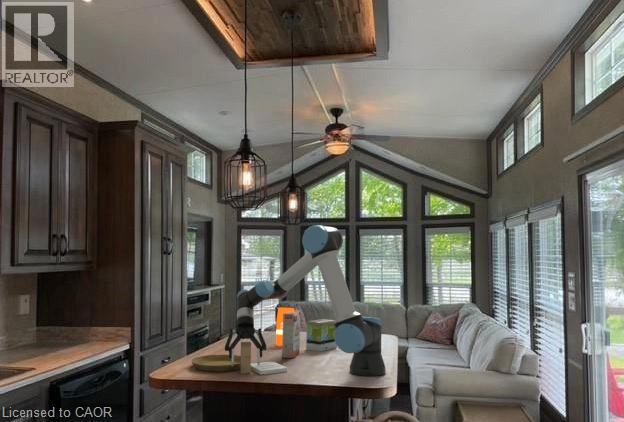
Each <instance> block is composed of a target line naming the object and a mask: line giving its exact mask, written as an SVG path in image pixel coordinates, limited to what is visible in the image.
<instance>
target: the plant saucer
mask: <svg viewBox="0 0 624 422" xmlns="http://www.w3.org/2000/svg"><path fill="white" fill-rule="evenodd" d="M240 361H241V355H237V354H236V355H235V354H234V365H233V366H232V358H229V354H209V355H201V356H197V357H194V358H192V359H191V363H192V365H193V367H195V368H197V370H200V371H205V372H213V373H214V372H217V373H218V372H219V373H220V372H229V371H231V372H232V371H234V370H238V369H239V370H240Z"/></svg>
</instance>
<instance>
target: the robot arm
mask: <svg viewBox="0 0 624 422" xmlns="http://www.w3.org/2000/svg"><path fill="white" fill-rule="evenodd" d="M301 240H302V241H301V243H302V246H303V248H304V250H305V251H306V253H305V254H304V255H303V256H302V257H301V258H300V259H298V260H297V261H296V262H295V263H294V264H293V265H292V266H290V267H289V268H288V269H287V270H286V271H285V272H283V274H282V275H280V276H279V277H278V278H276V280H274V282H271V281H269V280H267V279H263V280H261V281H260V282H258V283H257V284H255V285H254V286H253V287H252V288H250V289H248V288H247V289H246V288H245V289H242V290H239V291H238V293H237V295H236V296H237V297H236V328H235V329H233V328H229V335H228V337H227V340H226V342H225V345H224V351H225V352H228V355H229V358H232V366H233V365H234V355H235V354H234V353H235V351H234V350H235V348H236V346H237V345H238V343H239V342H241V340H249V341H250V342H252V343H253V345H254V346H255V348H256V349H257V351H256V352H257V363H258V366H260V363H261V358H263V351H266V349H267V343H266V342H265V338H264V336H263V334H262V328H258V329H256V328H255V322H254V321H255V320H254V319H255V314H254V308H255V307H256V306H257V305H259V304H260V303H262V302H263V301H270V300H280V299H283V298H286V296H287V295H288V292H289V291H290V290H291V289H292V288H293V287H294V286H296V285H297V284H298V283H299V282H300V281H301V280H302V279H304V278H305V277H307V276H308V275H309V274H310V273H311V272H312V271H313V270H314V269H316V268H317V267H318V269H319V272H320V274H321V278H322V280H323V282H324V283H323V284H324V287H325V290H326V292H327V295H328V298H329V301H330V304H331V307H332V310H333V313H334V316H335V322H334V325H335V328H336V331H335V334H334V340H335V343H336V345H337V348H338V349H339V350H340V351H342V352H344V353H345V354H352V358H351V360H350V364H349V373H350V374H353V375H357V376H363V377H378V376H384V375H385V374H387V373H386V371H387V370H386V365H385V361H384V358H383V355H382V328H383V327H382V319H380V318H379V317H369V316H362V314H361V313H360V312H358V311H357V310H356V307H355V305H354V302H353V299H352V296H351V293H350V291H349V287H348V285H347V281H346V279H345V275H344V273H343V271H342V267H341V265H340V261H339V260H338V255H339V252H340V250H341V249H342V246H343V243H344V238H343V235H342V233H341V231H340V230H339V229H337V228H336V227H334V226H327V225H321V224H317V225H315V224H314V225H312V226H309V227H308V228H307V229H305V231H304V233H303V235H302V239H301ZM235 334H236V337H235V339H234V340H233V341H232V339H233V336H234V335H235ZM255 335H257V337H258V338H256V336H255ZM258 339H259V340H258ZM231 341H232V343H231Z"/></svg>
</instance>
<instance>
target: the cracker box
mask: <svg viewBox="0 0 624 422" xmlns="http://www.w3.org/2000/svg"><path fill="white" fill-rule="evenodd" d="M300 336H301V311H300V310H299V311H297V310H296V311H295V310H294V311H289V312H287V313H285V314H283V338H282V346H281V358H282V359H294V358H296V356H298V355H299V354H300V343H301V342H300V341H301V340H300Z"/></svg>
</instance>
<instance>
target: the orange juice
mask: <svg viewBox="0 0 624 422" xmlns="http://www.w3.org/2000/svg"><path fill="white" fill-rule="evenodd" d="M289 311H295V308H294V307H278V310H277V316H276V331H275V333H276V335H275V338H276V339H275V340H276V341H275V345H276V346H279V347H282V338H283V314H285V313H287V312H289Z"/></svg>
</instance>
